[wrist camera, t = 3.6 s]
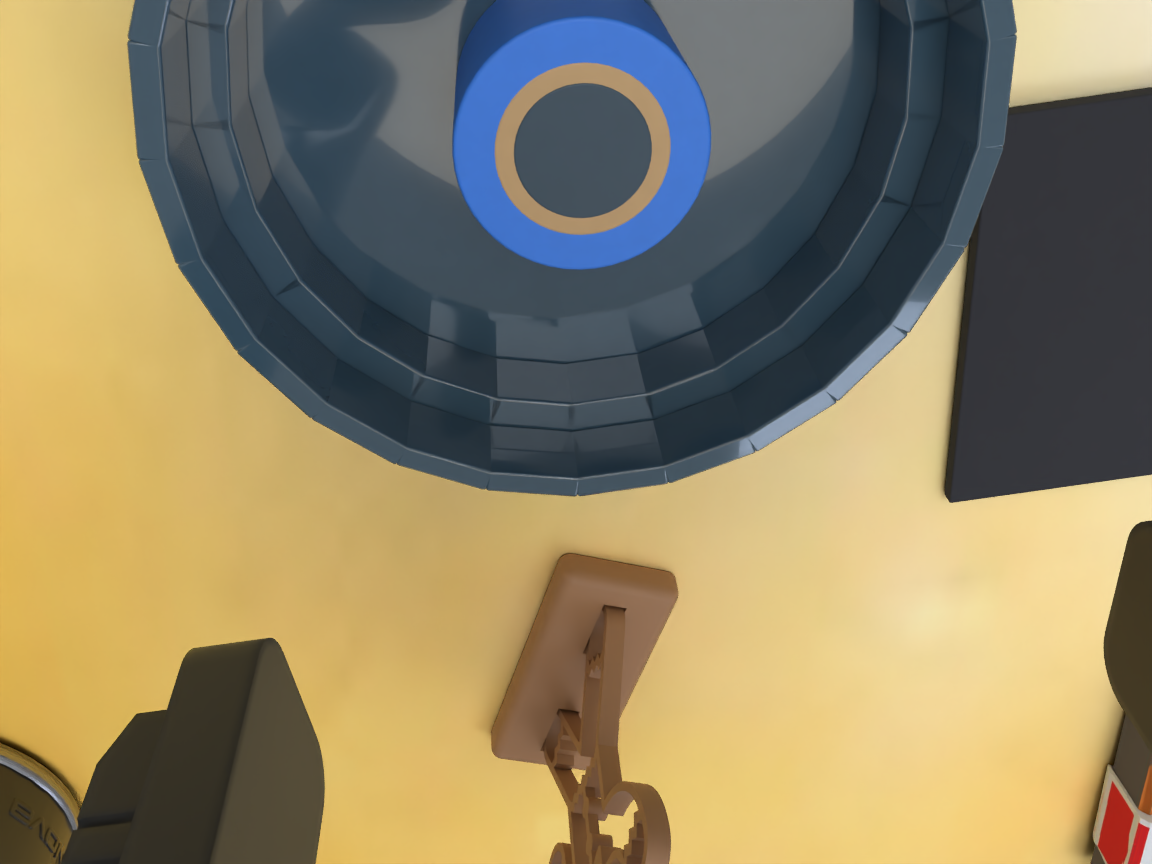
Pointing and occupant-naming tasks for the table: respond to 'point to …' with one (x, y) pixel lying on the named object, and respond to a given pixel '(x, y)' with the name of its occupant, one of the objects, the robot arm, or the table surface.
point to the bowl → (554, 295)
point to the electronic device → (1126, 805)
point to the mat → (1059, 305)
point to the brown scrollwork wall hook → (589, 701)
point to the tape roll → (577, 130)
